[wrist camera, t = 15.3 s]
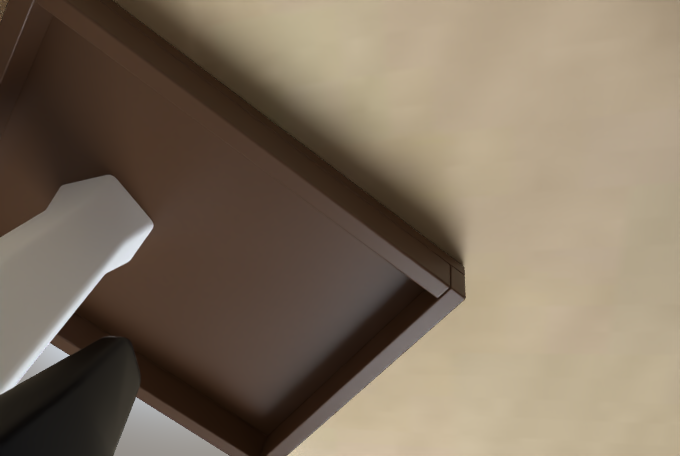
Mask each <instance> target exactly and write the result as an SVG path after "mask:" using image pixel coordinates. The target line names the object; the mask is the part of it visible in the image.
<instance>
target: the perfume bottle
mask: <svg viewBox="0 0 680 456" xmlns="http://www.w3.org/2000/svg"><path fill="white" fill-rule="evenodd" d="M153 226H154V225H153V222H152V220H151V219H150V218H149V217H148V215H147V214H146V213H145V212H144V211H143V209H142V208H141V207H140V206H139V205H138V203H137V202H136V201H135V200H134V199H133V198H132V196H131V195H130V194H129V193H128V192H127V190H126V189H125V188H124V187H123V186H122V184H121V183H120V182H119V181H118V180H117V179H116V178H115V177H114V176H112V175H104V176H100V177H95V178H91V179H86V180H82V181H78V182H73V183H69V184H65V185H62V186H61V187H60V188H59V190H58V191H57V193H56V195H55V196H54V198H53V199H52V201H51V203H50V204H49V206H48V207H47V209H46V210H45V211H43V212H42V213H40V214H38V215H37V216H35V217H33V218H32V219H30V220H29V221H27V222H25V223H24V224H22V225H20V226H19V227H17V228H15V229H14V230H12V231H10V232H9V233H7V234H5V235H4V236H2V237H0V395H1V394H2V393H4V392H6V391H8V390H10V389H11V388H13V387H15V385H16V384H17V383H18V382H19V380H20V379H21V378H22V377H23V375H24V374H25V373H26V372H27V370H28V369H29V368H30V367H31V366H32V364H33V363H34V362H35V360H36V359H37V358H38V357H39V356H40V354H41V353H42V352H43V351H44V349H45V348H46V347H47V346H48V344H49V343H50V342H51V341H52V339H53V338H54V337H55V336H56V334H57V333H58V332H59V331H60V329H61V328H62V327H63V326H64V325H65V323H66V322H67V321H68V320H69V318H70V317H71V316H72V315H73V313H74V312H75V311H76V310H77V308H78V307H79V306H80V305H81V303H82V302H83V301H84V300H85V298H86V297H87V296H88V295H89V293H90V292H91V291H92V290H93V288H94V287H95V286H96V285H97V284H98V282H99V281H100V280H101V279H102V277H103V276H104V275H105V274H106V273H108V272H110V271H112V270H114V269H116V268H118V267H119V266H121V265H123V264H125V263H127V262H129V261H130V260H131V258H132V257H133V256H134V254H135V253H136V251H137V250H138V249H139V247H140V246H141V244H142V243H143V242H144V240H145V239H146V237H147V236H148V235H149V233H150V232H151V230H152V229H153Z"/></svg>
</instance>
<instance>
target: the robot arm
mask: <svg viewBox="0 0 680 456" xmlns="http://www.w3.org/2000/svg"><path fill="white" fill-rule="evenodd" d="M140 383H141V374H140V370H139V366H138V363H137V359H136V356H135V352H134V349H133V345H132V343H131V341H130V340H129V339H128V338H126V337H117V336H105V337H102V338H100V339H98V340H97V341H95V342H93V343H91V344H90V345H88V346H86V347H84V348H82V349H81V350H79V351H77V352H75V353H74V354H72V355H70V356H68V357H66V358H65V359H63V360H61V361H59V362H58V363H56V364H54V365H52V366H51V367H49V368H47V369H45V370H43V371H42V372H40V373H38V374H36V375H35V376H33V377H31V378H29V379H27V380H26V381H24V382H22V383H20V384H18V385H17V386H15V387H13V388H11V389H10V390H8V391H6V392H4V393H2V394H1V395H0V456H113V455H114V452H115V450H116V447H117V445H118V442H119V439H120V436H121V434H122V432H123V429H124V426H125V424H126V421H127V418H128V416H129V413H130V411H131V408H132V406H133V403H134V401H135V398H136V395H137V393H138V390H139V387H140Z"/></svg>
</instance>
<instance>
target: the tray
mask: <svg viewBox="0 0 680 456" xmlns="http://www.w3.org/2000/svg"><path fill="white" fill-rule="evenodd" d="M104 175H112V176H114V177H115V178H116V179H117V180H118V181H119V182H120V183H121V184H122V186H123V187H124V188H125V189H126V190H127V192H128V193H129V194H130V195H131V196H132V198H133V199H134V200H135V201H136V202H137V203H138V205H139V206H140V207H141V208H142V209H143V211H144V212H145V213H146V214H147V215H148V217H149V218H150V219H151V220H152V222H153V225H154V226H153V229H152V230H151V232H150V233H149V235H148V236H147V237H146V239H145V240H144V242H143V243H142V244H141V246H140V247H139V249H138V250H137V251H136V253H135V254H134V256H133V257H132V258H131V260H130V261H129V262H127V263H125V264H123V265H121V266H119V267H118V268H116V269H114V270H112V271H110V272H108V273H106V274H105V275H104V276H103V277H102V279H101V280H100V281H99V282H98V284H97V285H96V286H95V287H94V288H93V290H92V291H91V292H90V293H89V295H88V296H87V297H86V298H85V300H84V301H83V302H82V303H81V305H80V306H79V307H78V308H77V310H76V311H75V312H74V313H73V315H72V316H71V317H70V318H69V320H68V321H67V322H66V323H65V325H64V326H63V327H62V328H61V329H60V331H59V332H58V333H57V334H56V336H55V337H54V338H53V339H52V341H51V342H50V343H51V344H53V345H54V346H56V347H57V348H59V349H61V350H62V351H64V352H65V353H67V354H69V355H72V354H74V353H75V352H77V351H79V350H81V349H82V348H84V347H86V346H88V345H90V344H91V343H93V342H95V341H97V340H98V339H100V338H102V337H105V336H117V337H126V338H128V339H129V340H130V341H131V343H132V345H133V349H134V352H135V356H136V359H137V363H138V366H139V370H140V374H141V383H140V387H139V390H138V393H137V395H136V397H137V398H139V399H140V400H142V401H143V402H145V403H147V404H148V405H150V406H151V407H153V408H155V409H156V410H158V411H159V412H161V413H163V414H164V415H166V416H167V417H169V418H170V419H172V420H174V421H175V422H177V423H178V424H180V425H182V426H183V427H185V428H186V429H188V430H190V431H191V432H193V433H194V434H196V435H198V436H199V437H201V438H202V439H204V440H206V441H207V442H209V443H210V444H212V445H214V446H215V447H217V448H218V449H220V450H221V451H223V452H225V453H226V454H228V455H229V456H287V455H288V454H289V453H291V452H292V451H293V450H294V449H295V448H296V447H297V446H299V445H300V444H301V443H302V442H303V441H304V440H305V439H306V438H308V437H309V436H310V435H311V434H312V433H313V432H314V431H316V430H317V429H318V428H319V427H320V426H321V425H322V424H324V423H325V422H326V421H327V420H328V419H329V418H330V417H332V416H333V415H334V414H335V413H336V412H337V411H338V410H339V409H341V408H342V407H343V406H344V405H345V404H346V403H347V402H349V401H350V400H351V399H352V398H353V397H354V396H355V395H357V394H358V393H359V392H360V391H361V390H362V389H363V388H365V387H366V386H367V385H368V384H369V383H370V382H371V381H372V380H374V379H375V378H376V377H377V376H378V375H379V374H380V373H382V372H383V371H384V370H385V369H386V368H387V367H388V366H390V365H391V364H392V363H393V362H394V361H395V360H396V359H398V358H399V357H400V356H401V355H402V354H403V353H404V352H406V351H407V350H408V349H409V348H410V347H411V346H412V345H413V344H415V343H416V342H417V341H418V340H419V339H420V338H421V337H423V336H424V335H425V334H426V333H427V332H428V331H429V330H431V329H432V328H433V327H434V326H435V325H436V324H437V323H439V322H440V321H441V320H442V319H443V318H444V317H445V316H446V315H448V314H449V313H450V312H451V311H452V310H453V309H454V308H456V307H457V306H458V305H459V304H460V303H461V302H462V301H464V300H465V298H466V296H465V276H464V275H465V270H464V266H462V265H461V264H460V263H458V262H457V261H456V260H454V259H453V258H452V257H450V256H449V255H448V254H446V253H445V252H444V251H442V250H441V249H440V248H438V247H437V246H436V245H434V244H433V243H432V242H431V241H429V240H428V239H427V238H425V237H424V236H423V235H421V234H420V233H419V232H417V231H416V230H415V229H413V228H412V227H411V226H409V225H408V224H407V223H405V222H404V221H403V220H401V219H400V218H399V217H398V216H396V215H395V214H394V213H392V212H391V211H390V210H388V209H387V208H386V207H384V206H383V205H382V204H380V203H379V202H378V201H376V200H375V199H374V198H372V197H371V196H370V195H368V194H367V193H366V192H364V191H363V190H362V189H361V188H359V187H358V186H357V185H355V184H354V183H353V182H351V181H350V180H349V179H347V178H346V177H345V176H343V175H342V174H341V173H339V172H338V171H337V170H335V169H334V168H333V167H331V166H330V165H329V164H327V163H326V162H325V161H324V160H322V159H321V158H320V157H318V156H317V155H316V154H314V153H313V152H312V151H310V150H309V149H308V148H306V147H305V146H304V145H302V144H301V143H300V142H298V141H297V140H296V139H294V138H293V137H292V136H291V135H289V134H288V133H287V132H285V131H284V130H283V129H281V128H280V127H279V126H277V125H276V124H275V123H273V122H272V121H271V120H269V119H268V118H267V117H265V116H264V115H263V114H261V113H260V112H259V111H257V110H256V109H255V108H254V107H252V106H251V105H250V104H248V103H247V102H246V101H244V100H243V99H242V98H240V97H239V96H238V95H236V94H235V93H234V92H232V91H231V90H230V89H228V88H227V87H226V86H224V85H223V84H222V83H221V82H219V81H218V80H217V79H215V78H214V77H213V76H211V75H210V74H209V73H207V72H206V71H205V70H203V69H202V68H201V67H199V66H198V65H197V64H195V63H194V62H193V61H191V60H190V59H189V58H187V57H186V56H185V55H184V54H182V53H181V52H180V51H178V50H177V49H176V48H174V47H173V46H172V45H170V44H169V43H168V42H166V41H165V40H164V39H162V38H161V37H160V36H158V35H157V34H156V33H154V32H153V31H152V30H150V29H149V28H148V27H147V26H145V25H144V24H143V23H141V22H140V21H139V20H137V19H136V18H135V17H133V16H132V15H131V14H129V13H128V12H127V11H125V10H124V9H123V8H121V7H120V6H119V5H117V4H116V3H115V2H114V1H112V0H9V1H8V4H7V6H6V9H5V12H4V14H3V17H2V20H1V22H0V237H2V236H4V235H5V234H7V233H9V232H10V231H12V230H14V229H15V228H17V227H19V226H20V225H22V224H24V223H25V222H27V221H29V220H30V219H32V218H33V217H35V216H37V215H38V214H40V213H42V212H43V211H45V210H46V209H47V207H48V206H49V204H50V203H51V201H52V199H53V198H54V196H55V195H56V193H57V191H58V190H59V188H60V187H61V186H62V185H65V184H69V183H73V182H78V181H82V180H86V179H91V178H95V177H100V176H104Z"/></svg>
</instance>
